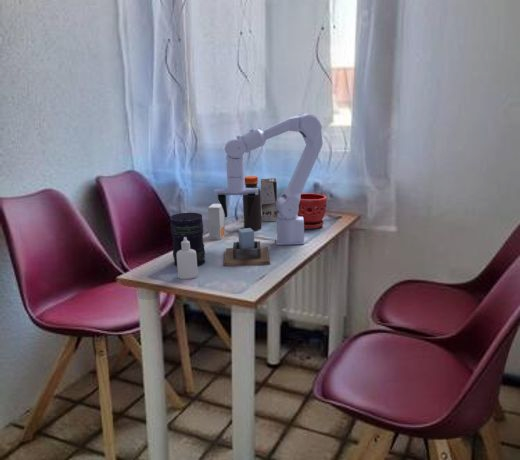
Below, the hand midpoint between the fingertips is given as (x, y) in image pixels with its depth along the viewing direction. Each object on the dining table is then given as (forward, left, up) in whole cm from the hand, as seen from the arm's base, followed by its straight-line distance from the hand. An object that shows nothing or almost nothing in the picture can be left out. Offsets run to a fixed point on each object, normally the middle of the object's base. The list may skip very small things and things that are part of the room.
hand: (237, 215), depth 162 cm
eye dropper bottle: (+14, +28, -11) cm, 33 cm away
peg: (-3, +13, -9) cm, 16 cm away
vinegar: (-5, -20, -11) cm, 23 cm away
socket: (-3, +13, -10) cm, 17 cm away
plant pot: (-27, -21, -11) cm, 36 cm away
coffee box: (-12, -34, -11) cm, 38 cm away
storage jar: (+15, +16, -11) cm, 24 cm away
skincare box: (+8, -10, -11) cm, 17 cm away
